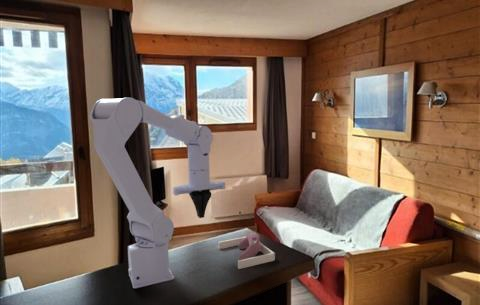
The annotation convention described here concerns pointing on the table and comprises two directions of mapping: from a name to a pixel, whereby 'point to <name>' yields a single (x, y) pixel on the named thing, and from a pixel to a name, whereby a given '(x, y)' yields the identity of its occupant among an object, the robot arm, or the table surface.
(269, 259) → the dock
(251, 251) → the video game controller
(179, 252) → the table surface
